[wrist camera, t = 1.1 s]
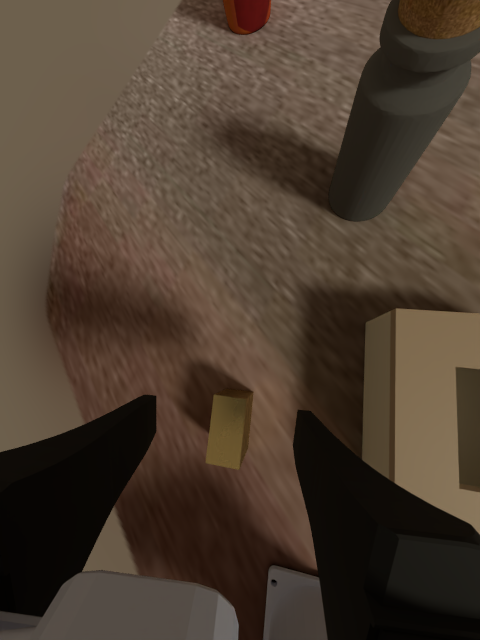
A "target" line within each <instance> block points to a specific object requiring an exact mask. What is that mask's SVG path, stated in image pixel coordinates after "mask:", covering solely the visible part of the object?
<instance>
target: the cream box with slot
mask: <svg viewBox="0 0 480 640" xmlns="http://www.w3.org/2000/svg"><path fill="white" fill-rule="evenodd" d="M362 460H363V461H364V462H366V463H367V464H368V465H370V466H371V467H372V468H373V469H375V470H376V471H378V472H379V473H381V474H382V475H383V476H385V477H386V478H388V479H389V480H391V481H393V482H394V483H396V484H397V485H399V486H400V487H402V488H404V489H405V490H407V491H408V492H410V493H412V494H414V495H415V496H417V497H419V498H421V499H422V500H424V501H426V502H428V503H429V504H431V505H433V506H435V507H437V508H439V509H441V510H443V511H445V512H447V513H449V514H451V515H453V516H455V517H457V518H459V519H461V520H463V521H465V522H467V523H469V524H471V525H472V526H473V527H474V528H475V529H476V531H477V532H478V533H479V534H480V314H478V313H462V312H446V311H430V310H414V309H398V308H396V309H394V310H391V311H389V312H387V313H385V314H383V315H381V316H379V317H376V318H374V319H372V320H370V321H368V322H366V323H365V361H364V398H363V436H362Z"/></svg>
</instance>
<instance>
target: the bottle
mask: <svg viewBox="0 0 480 640" xmlns="http://www.w3.org/2000/svg"><path fill="white" fill-rule="evenodd" d="M380 46H381V47H380V48H379V49H378V50H377V51H376V52H375V53H374V54H373V55H372V56H371V57H370V59H369V60H368V62H367V63H366V65H365V67H364V69H363V72H362V75H361V78H360V81H359V84H358V88H357V91H356V95H355V98H354V102H353V106H352V109H351V113H350V116H349V120H348V123H347V127H346V131H345V134H344V138H343V142H342V145H341V149H340V153H339V156H338V160H337V164H336V167H335V171H334V175H333V178H332V182H331V186H330V191H329V202H330V206H331V208H332V209H333V210H334V212H335V213H336V214H337V215H339V216H340V217H342V218H344V219H346V220H351V221H365V220H369V219H371V218H374V217H375V216H377V215H378V214H380V213H381V212H382V211H383V210H384V209H385V208H386V206H387V205H388V203H389V202H390V201H391V199H392V198H393V196H394V195H395V194H396V192H397V191H398V189H399V188H400V186H401V185H402V183H403V182H404V180H405V179H406V177H407V176H408V174H409V173H410V171H411V170H412V168H413V167H414V165H415V164H416V162H417V161H418V159H419V158H420V157H421V155H422V154H423V152H424V151H425V149H426V148H427V146H428V145H429V143H430V142H431V140H432V139H433V137H434V136H435V134H436V133H437V131H438V130H439V128H440V127H441V125H442V124H443V122H444V121H445V119H446V118H447V116H448V115H449V113H450V112H451V110H452V109H453V107H454V106H455V104H456V103H457V101H458V100H459V98H460V97H461V95H462V93H463V92H464V90H465V88H466V86H467V84H468V82H469V79H470V75H471V61H470V59H472V58H473V57H474V56H476V55H477V54H478V53H479V52H480V0H392V1H391V2H390V4H389V6H388V8H387V11H386V14H385V17H384V21H383V24H382V28H381V32H380Z"/></svg>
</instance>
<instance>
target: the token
mask: <svg viewBox="0 0 480 640" xmlns="http://www.w3.org/2000/svg"><path fill="white" fill-rule="evenodd" d="M252 402H253V392H250V391H243V390H236V389H229V388H227V389H225V390H223V391H220V392H218V393H216V394H214V398H213V406H212V414H211V423H210V431H209V439H208V448H207V456H206V463H208V464H213V465H218V466H223V467H228V468H233V469H238V470H239V469H240V467H241V464H242V462H243V459H244V457H245V454H246V452H247V449H248V444H249V433H250V423H251V412H252Z"/></svg>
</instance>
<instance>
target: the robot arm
mask: <svg viewBox="0 0 480 640" xmlns="http://www.w3.org/2000/svg"><path fill="white" fill-rule="evenodd" d="M155 433H156V396H153V395H143V396H140V397H138V398H136V399H134V400H132V401H131V402H129V403H127V404H125V405H123V406H121V407H119V408H117V409H115V410H113V411H112V412H110V413H108V414H106V415H103V416H101V417H99V418H97V419H95V420H93V421H91V422H89V423H87V424H84V425H82V426H80V427H77V428H75V429H72V430H70V431H67V432H65V433H62V434H60V435H57V436H54V437H51V438H48V439H45V440H42V441H39V442H36V443H33V444H29V445H26V446H22V447H19V448H15V449H11V450H7V451H3V452H0V640H238V630H239V624H238V620H237V617H236V613H235V609H234V607H233V606H232V604H231V603H230V602H229V601H228V600H227V599H226V598H225V597H224V596H223V595H222V594H221V593H220V592H218V591H217V590H215V589H213V588H210V587H207V586H204V585H201V584H198V583H192V582H185V581H177V580H170V579H163V578H155V577H148V576H141V575H133V574H126V573H119V572H111V571H103V570H98V571H85V572H82V570H83V568H84V566H85V564H86V561H87V559H88V557H89V555H90V553H91V551H92V549H93V547H94V545H95V543H96V540H97V538H98V536H99V534H100V532H101V530H102V528H103V526H104V524H105V522H106V520H107V518H108V516H109V514H110V512H111V510H112V508H113V507H114V505H115V503H116V501H117V499H118V498H119V496H120V494H121V493H122V491H123V489H124V488H125V486H126V485H127V483H128V481H129V480H130V478H131V476H132V475H133V473H134V472H135V470H136V468H137V467H138V465H139V464H140V462H141V460H142V459H143V457H144V455H145V454H146V452H147V450H148V448H149V446H150V444H151V442H152V440H153V438H154V435H155ZM293 450H294V458H295V465H296V470H297V474H298V478H299V482H300V486H301V490H302V494H303V497H304V501H305V505H306V509H307V513H308V517H309V522H310V526H311V531H312V537H313V543H314V549H315V556H316V562H317V569H318V575H319V577H316V576H312V575H309V574H305V573H301V572H297V571H294V570H290V569H286V568H283V567H279V566H275V565H272V566H271V567H270V568H269V572H268V584H267V597H266V610H265V623H264V636H263V640H480V534H479V533H478V532H477V531H476V529H475V528H474V527H473V526H472V525H471V524H469V523H467V522H465V521H463V520H461V519H459V518H457V517H455V516H453V515H451V514H449V513H447V512H445V511H443V510H441V509H439V508H437V507H435V506H433V505H431V504H429V503H428V502H426V501H424V500H422V499H421V498H419V497H417V496H415V495H414V494H412V493H410V492H408V491H407V490H405V489H404V488H402V487H400V486H399V485H397V484H396V483H394V482H393V481H391V480H389V479H388V478H386V477H385V476H383V475H382V474H381V473H379V472H378V471H376V470H375V469H373V468H372V467H371V466H370V465H368V464H367V463H366V462H364V461H363V460H362V459H360V458H359V457H358V456H357V455H355V454H354V453H353V452H352V451H351V450H350V449H349V448H347V447H346V446H345V445H344V444H343V443H342V442H341V441H340V440H339V439H337V438H336V437H335V436H334V435H333V434H332V433H331V432H330V431H329V430H328V429H327V428H326V427H325V426H324V425H323V424H322V422H321V421H320V420H319V419H318V418H317V417H316V416H315V415H314V414H313V413H312V412H311V411H305V410H298V412H297V419H296V427H295V434H294V442H293ZM272 579H274V580H276V581H277V582H276V583H274V582H272Z"/></svg>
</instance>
